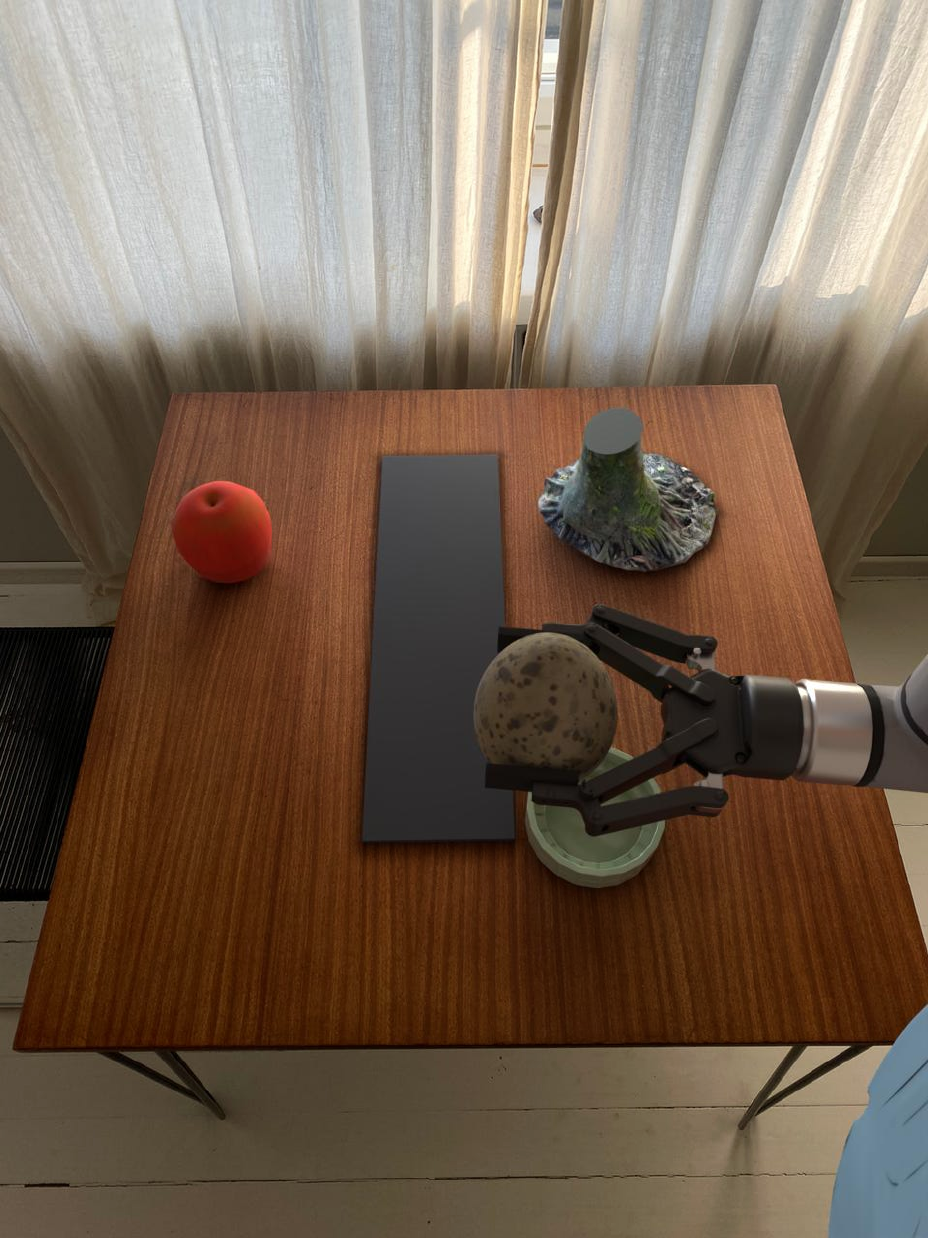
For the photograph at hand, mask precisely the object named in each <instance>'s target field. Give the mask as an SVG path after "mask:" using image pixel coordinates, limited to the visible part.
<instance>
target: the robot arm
mask: <svg viewBox="0 0 928 1238" xmlns="http://www.w3.org/2000/svg"><path fill="white" fill-rule="evenodd" d="M536 633H558V634H562V635H566V636H569V637H571V638H573V639H575V640H577V641H579V642H580V643H582V644H584V645H585V646H586V647H588V648H589V649H590V650H591V651H592V652H593V653H594V654H595V655H596V656H597V658H598V659H599V660H600V661H601V663H604V664H605V665H607V666H608V667H610V668H612V669H613V670H614V671H616V672H618V673H620V674H621V675H623V676H625V677H626V678H627V679H629V680H631V681H632V682H634V683H636V684H637V685H639V686H640V687H642V688H643V689H645V690H647V691H648V692H649V693H650V694H651V696H652V697H653V698H654V699H655V700H656V701H658V702H660V703H661V705H660V717H661V720H662V723H663V727H662V731H661V742H660V744H658V745H657V746H654V747H653V748H650V749H648V750H647V751H645V752H643V753H640V754H639V755H636V756H635V757H633V759H631V760H629V761H627V762H625V763H623V764H621V765H619V766H617V767H615V768H613V769H611V770H609V771H607V772H605V773H603V774H601V775H599V776H597V777H595V778H593V779H591V780H589V781H587V782H585V781H586V780H585V779H584V780H583V781H582V782H581V785H580V784H578V782H579V771H572V770H561V769H549V768H538V767H527V766H515V765H504V764H492V763H486V771H485V788H491V789H503V790H513V792H514V791H516V792H526V793H528V792H532V798H531V801H532V802H534V803H536V804H538V805H547V806H559V807H570V808H574V809H577V810H578V811H579V812H580V813H581V816H582V818H583V821H584V824H585V831H586V833H587V834H588V835H589V836H592V837H596V836H600V835H605V834H609V833H613V832H617V831H621V830H626V829H630V828H634V827H638V826H643V825H647V824H651V823H655V822H659V821H664V820H665V821H668V820H672V819H676V818H680V817H685V816H688V815H689V816H698V817H707V818H716V817H718V816H719V815H720V814H721V812H722V811H723V809H724V808H725V806H726V804H727V803H728V802H729V799H730V795H729V793H728V792H727V791H726V790H725V789H724V777H727V776H737V777H740V778H749V779H759V780H772V781H785V780H786V779H788V778H790V777H791V778H792V779H793V780H794V781H796V782H799V783H810V784H822V785H835V786H847V787H849V786H850V787H853V788H854V787H855V788H871V789H872V788H873V789H882V790H883V789H884V790H893V791H903V792H911V793H913V792H914V793H922V794H928V653H927V654H926V656H925V657H924V658H923V659H922V660H921V662H920V663H919V664H918V666H917V667H916V668H915V669H914V670H913V672H911V673H910V674H909V675H908V676H907V678H906V679H905V680H904V681H903V683H902V684H901V685H879V684H866V683H865V684H864V683H863V684H862V683H856V682H855V683H854V682H843V681H831V680H821V679H809V678H801V679H799V680H797V681H796V682H794V681H792V680H791V678H789V677H781V676H769V675H768V676H767V675H758V674H741V675H727V674H725V673H723V672H721V671H719V670H718V669H716V661H715V660H716V659H715V652H716V651H717V648H718V645H719V642H718V640H717V638H716V637H714V636H712V635H703V634H687V633H684V632H681V631H679V630H676V629H673V628H670V627H668V626H665V625H662V624H659V623H657V622H654V621H652V620H648V619H645V618H642V617H640V616H637V615H634V614H631V613H628V612H626V611H623V610H621V609H619V608H618V609H617V608H614V607H612V606H609V605H606V604H604V603H597V604H594V606H592V611H591V613H590V615H589V616H588V619H587V620H586V622H584V623H580V624H577V623H563V622H562V623H561V622H550V621H549V622H544V623H541V629H540V628H539V629H538V628H537V629H536V628H526V627H512V626H505V627H501V626H499V629H498V645H497V653H500V652H502V651H503V650H504V649H505V648H506V647H508V646H509V645H510V644H512V643H514V642H515V641H517V640H519V639H521V638H523V637H526V636H529V635H532V634H536ZM643 651H644V652H645V653H644V652H643ZM646 652H647V653H650V654H652V655H655V656H657V657H661V658H663V659H666V660H668V661H671V662H675V663H678V664H682V665H683V664H684V665H686V667H687V668H688V669H689V670H696V671H697V672H696V673H694V674H693V675H691V676H689V675H688V674H685V673H684V672H682V671H681V670H680V669H677V668H676V667H674V666H672V665H670V664H662V663H661V662H659V661H658V660H656V659H654V658H653V657H651V656H649V655H648V654H646ZM685 764H686V765H687V766H688V767H690V768H691V769H692V770H694V771H695V772H697V774H699V775H701V776H702V777H703V778H704V779H700V780H696V781H695V782H694V784H693V785H689V786H683V787H678V788H674V789H670V790H665V791H661V793H657V794H652V795H648V796H644V797H639V798H635V799H631V800H626V801H622V802H618V803H614V804H609V805H605V806H601V804H603V803H605V802H607V801H609V800H611V799H612V798H614V797H616V796H618V795H620V794H622V793H624V792H626V791H628V790H630V789H632V788H634V787H636V786H638V785H640V784H642V783H644V782H646V781H648V780H650V779H652V778H655V777H657V776H660V775H665V774H667V773H670V772H671V771H673V770H675V769H678V768H680V767H682V766H683V765H685ZM867 1094H868V1097H869V1098H868V1104H867V1106H866V1108H865V1110H864V1111H863V1113H862V1115H861V1116H860V1117H859V1118H857V1119H855V1120H853V1122H852V1125H851V1126H850V1129H849V1131H848V1134H847V1137H846V1138H845V1142H844V1145H843V1149H842V1152H841V1156H840V1159H839V1163H838V1167H837V1171H836V1173H835V1174H836V1175H835V1179H834V1184H833V1188H832V1195H831V1202H830V1203H831V1204H830V1212H829V1222H828V1234H827V1235H828V1236H827V1237H828V1238H928V1003H927V1004H926V1005H925V1006H924V1007H923V1008H922V1009H921V1010H920V1011H919V1012H918V1013H917V1014H916V1015H915V1016H914V1017H913V1018H912V1019H911V1021H909V1023H908V1024H907V1025H906V1027H905V1028H904V1029H903V1030H902V1032H901V1033H900V1034H899V1035H898V1037H897V1038H896V1039H895V1041H894V1043H893V1045H892V1046H891V1048H890V1049H889V1050H888V1052H887V1053H886V1054H885V1056H884V1057H883V1059H882V1060H881V1062H880V1063H879V1066H878V1067H877V1069H876V1071H875V1072H874V1074H873V1076H872V1078H871V1080H870V1082H869V1083H868V1085H867Z"/></svg>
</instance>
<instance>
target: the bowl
mask: <svg viewBox="0 0 928 1238" xmlns="http://www.w3.org/2000/svg"><path fill="white" fill-rule="evenodd" d="M633 758H634V757H633V756H632V755H630V754H628V753H626V752H623V751H621V750H619V749H617V748H615V747H611V748H610V750H609V752H608V754H607V755H606V757H605V758H604V760H603V761H602V763H601V764H600V765H599V766H598V767H597V768H596V769H595V770H594V771H593V772H592V773H591V774H590V775H589V776H587V777H586V778H585V780H586V781H585V782H587V781H589V780H591V779H593V778H595V777H597V776H599V775H601V774H603V773H605V772H607V771H609V770H611V769H613V768H615V767H617V766H619V765H621V764H623V763H625V762H627V761H629V760H631V759H633ZM654 778H655V777H654ZM654 778H652V779H650V780H648V781H646V782H644V783H642V784H640V785H638V786H636V787H634V788H632V789H630V790H628V791H626V792H624V793H622V794H620V795H618V796H616V797H614V798H612V799H611V800H609V801H607V802H605V803H603V804H601V806H605V805H609V804H614V803H618V802H622V801H626V800H631V799H635V798H639V797H644V796H648V795H652V794H657V793H661V792H662V791H661V787H660V785H659V784H658V783H657V782H656V780H655V779H654ZM583 780H584V779H583ZM583 780H581V781H580V782H578V784H580V785H581V782H582V781H583ZM531 798H532V792H527V800H526V807H525V808H526V809H525V814H524V815H525V816H524V824H525V829H526V835H527V840H528V842H529V844H530V846H531V849H532V850H533V852H534V853H535V855H536V856H537V859H538V860H539V862H541V863H542V864H543V865H544V866H545V867H546V868H548V869H549V871H551V872H552V873H553V874H554V875H555V876H557V877H559V878H561V879H563V880H565V881H567V882H569V883H571V884H573V885H575V886H580V887H587V888H594V889H601V888H607V887H614V886H618V885H621V884H622V883H625V882H626V881H628V880H630V879H632V878H633V877H636V876H637V875H638V874H640V872H641V871H642V870H643V869H644V868H645V867H646V865H647V864H648V863H650V862H651V859H652V858H653V856H654V854H655V852H656V850H657V849H658V847H659V844H660V841H661V839H662V837H663V834H664V831H665V828H666V820H664V821H659V822H655V823H651V824H647V825H643V826H638V827H634V828H630V829H626V830H621V831H617V832H613V833H609V834H605V835H600V836H596V837H592V836H589V835H588V834H587V833H586V831H585V824H584V821H583V818H582V816H581V813H580V812H579V811H578V810H577V809H574V808H570V807H559V806H547V805H538V804H536V803H534V802H532V801H531Z"/></svg>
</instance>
